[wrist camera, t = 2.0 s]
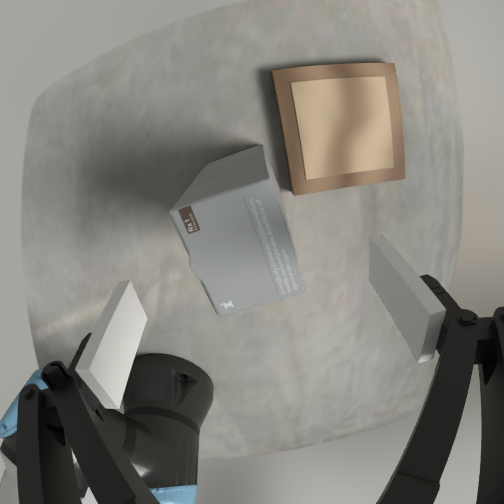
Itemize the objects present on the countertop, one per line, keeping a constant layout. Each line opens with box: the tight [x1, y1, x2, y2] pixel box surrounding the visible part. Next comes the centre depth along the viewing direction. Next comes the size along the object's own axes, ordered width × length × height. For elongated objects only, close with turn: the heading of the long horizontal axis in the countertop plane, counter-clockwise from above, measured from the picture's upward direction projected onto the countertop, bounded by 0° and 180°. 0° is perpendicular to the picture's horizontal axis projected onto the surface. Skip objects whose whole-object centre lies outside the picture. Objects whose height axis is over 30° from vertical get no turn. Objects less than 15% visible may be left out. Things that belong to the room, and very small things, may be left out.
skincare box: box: [169, 145, 305, 316], centre depth 26 cm, size 8×7×16 cm
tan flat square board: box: [271, 63, 405, 196], centre depth 29 cm, size 13×13×2 cm
